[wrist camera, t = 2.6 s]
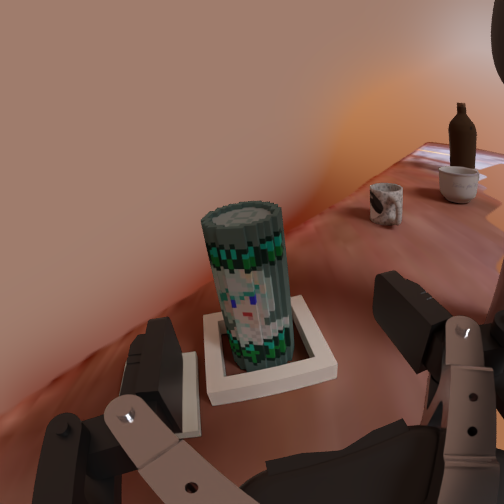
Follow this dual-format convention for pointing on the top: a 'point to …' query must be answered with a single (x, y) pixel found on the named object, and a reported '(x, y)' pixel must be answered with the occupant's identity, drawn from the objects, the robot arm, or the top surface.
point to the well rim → (269, 379)
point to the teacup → (458, 183)
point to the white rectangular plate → (189, 397)
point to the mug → (386, 203)
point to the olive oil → (462, 139)
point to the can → (252, 281)
